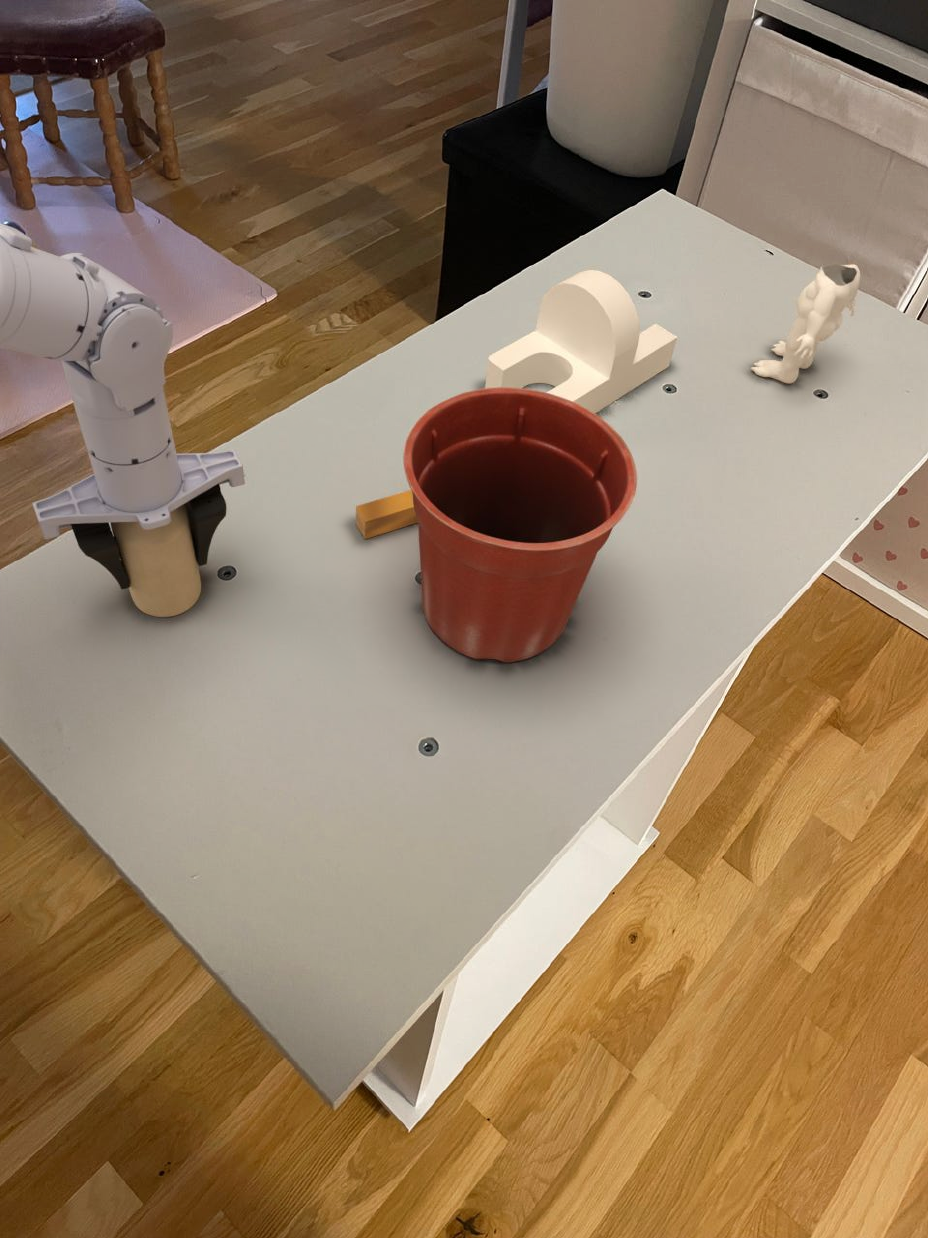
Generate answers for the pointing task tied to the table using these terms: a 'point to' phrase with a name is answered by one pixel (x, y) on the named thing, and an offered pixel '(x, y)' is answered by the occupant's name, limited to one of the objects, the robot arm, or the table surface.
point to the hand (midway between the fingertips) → (160, 568)
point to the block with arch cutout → (584, 345)
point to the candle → (160, 564)
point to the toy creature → (813, 321)
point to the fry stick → (386, 514)
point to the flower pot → (511, 514)
